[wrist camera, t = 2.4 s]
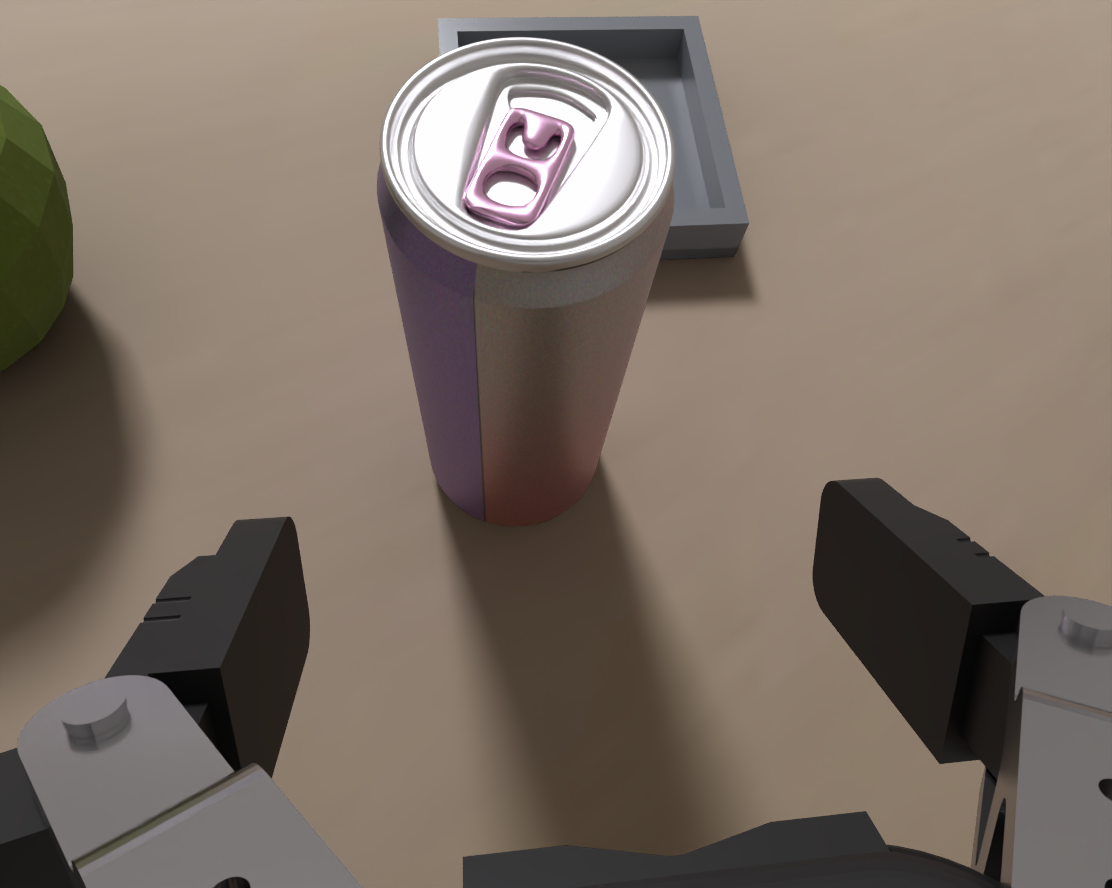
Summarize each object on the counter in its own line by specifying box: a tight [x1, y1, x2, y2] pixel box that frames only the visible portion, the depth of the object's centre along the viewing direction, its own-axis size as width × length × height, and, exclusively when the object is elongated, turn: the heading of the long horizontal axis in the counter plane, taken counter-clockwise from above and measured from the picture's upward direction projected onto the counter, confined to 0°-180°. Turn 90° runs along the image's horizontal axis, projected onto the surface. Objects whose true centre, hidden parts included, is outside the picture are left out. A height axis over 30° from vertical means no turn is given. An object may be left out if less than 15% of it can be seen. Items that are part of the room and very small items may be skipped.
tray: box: [438, 16, 749, 260], centre depth 33 cm, size 12×12×2 cm
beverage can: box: [377, 37, 676, 526], centre depth 22 cm, size 6×6×15 cm
